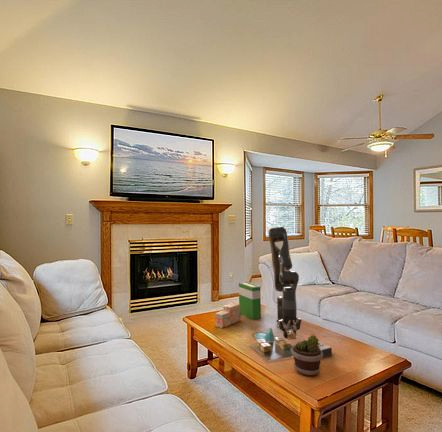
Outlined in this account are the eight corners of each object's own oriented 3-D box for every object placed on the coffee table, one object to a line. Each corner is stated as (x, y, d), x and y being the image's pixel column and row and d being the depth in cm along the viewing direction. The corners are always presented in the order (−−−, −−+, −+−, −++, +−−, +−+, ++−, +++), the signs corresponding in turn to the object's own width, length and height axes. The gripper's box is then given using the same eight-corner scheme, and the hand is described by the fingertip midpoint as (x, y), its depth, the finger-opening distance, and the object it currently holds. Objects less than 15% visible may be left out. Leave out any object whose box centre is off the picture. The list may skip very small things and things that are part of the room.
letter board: (284, 342, 183) (284, 335, 183) (304, 356, 164) (304, 349, 164) (251, 346, 178) (250, 339, 178) (267, 362, 158) (267, 354, 158)
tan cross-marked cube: (291, 336, 170) (291, 330, 170) (295, 339, 166) (295, 333, 166) (284, 337, 169) (284, 331, 169) (288, 340, 165) (288, 334, 165)
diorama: (263, 331, 201) (263, 318, 201) (284, 343, 183) (284, 328, 183) (248, 335, 196) (248, 321, 196) (268, 347, 178) (268, 332, 178)
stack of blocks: (222, 328, 207) (222, 310, 207) (215, 326, 211) (215, 308, 211) (240, 320, 222) (240, 303, 222) (233, 318, 227) (233, 302, 227)
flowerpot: (285, 370, 149) (284, 330, 149) (302, 361, 159) (301, 323, 159) (312, 383, 138) (311, 339, 138) (329, 372, 147) (328, 331, 147)
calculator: (310, 338, 179) (331, 346, 165) (311, 345, 179) (332, 354, 165) (296, 341, 174) (317, 350, 161) (297, 349, 174) (317, 358, 161)
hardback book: (239, 313, 239) (238, 282, 239) (247, 311, 242) (246, 281, 242) (252, 319, 223) (252, 287, 223) (260, 318, 226) (260, 286, 226)
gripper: (281, 310, 162) (282, 341, 162) (304, 307, 166) (305, 338, 166) (274, 306, 170) (274, 336, 170) (296, 304, 173) (297, 333, 173)
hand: (289, 337), depth 168 cm, fingers closed on tan cross-marked cube, 4 cm apart
